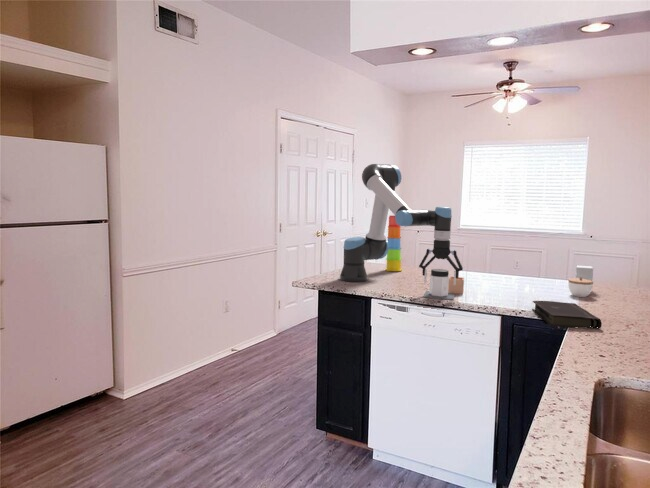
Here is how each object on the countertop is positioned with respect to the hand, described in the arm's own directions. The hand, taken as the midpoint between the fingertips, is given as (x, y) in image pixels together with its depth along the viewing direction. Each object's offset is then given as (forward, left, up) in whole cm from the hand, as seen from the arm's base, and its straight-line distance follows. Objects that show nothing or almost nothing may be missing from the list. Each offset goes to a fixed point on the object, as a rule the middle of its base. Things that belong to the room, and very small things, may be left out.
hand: (439, 283), depth 225 cm
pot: (+7, +12, -6) cm, 15 cm away
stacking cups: (-34, +62, -6) cm, 71 cm away
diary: (+51, -23, -7) cm, 56 cm away
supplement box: (+69, +44, -6) cm, 82 cm away
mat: (0, 0, -6) cm, 6 cm away
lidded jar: (+65, +29, -6) cm, 71 cm away
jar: (0, 0, -6) cm, 6 cm away
